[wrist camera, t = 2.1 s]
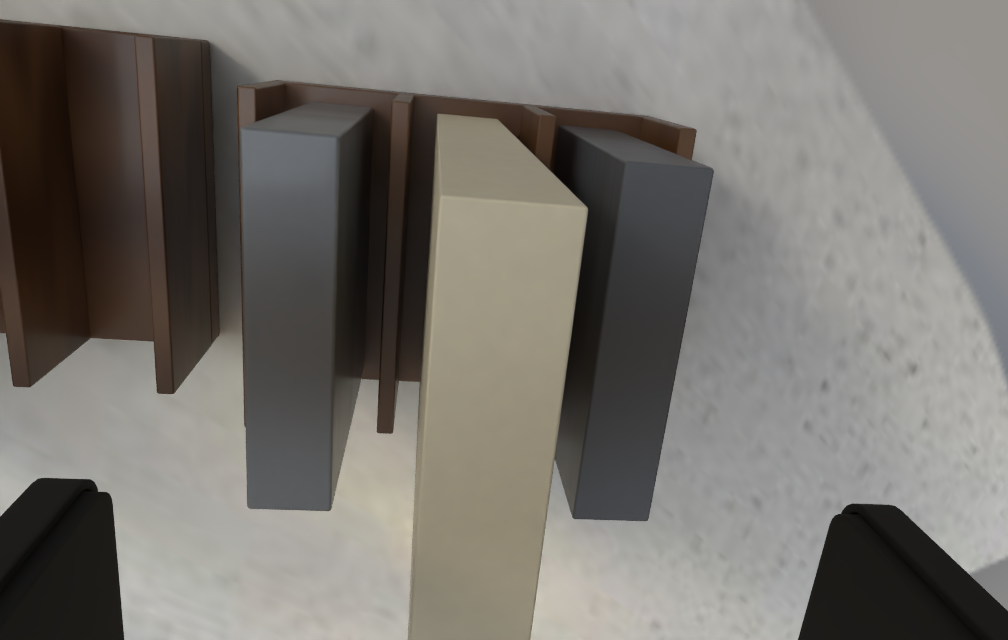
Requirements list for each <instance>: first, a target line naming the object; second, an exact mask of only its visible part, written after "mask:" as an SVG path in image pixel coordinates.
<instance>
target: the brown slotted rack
mask: <svg viewBox="0 0 1008 640" xmlns="http://www.w3.org/2000/svg"><path fill="white" fill-rule="evenodd" d="M237 104H238V150H239V196H240V243H241V289H242V336H243V382H244V425H245V427H246V467H247V506H248V508H250V509H278V510H310V511H330V510H331V508H332V504H333V499H334V495H335V491H336V486H337V482H338V478H339V473H340V469H341V465H342V460H343V456H344V452H345V447H346V443H347V439H348V434H349V430H350V425H351V421H352V417H353V412H354V408H355V404H356V399H357V395H358V391H359V386H360V382H361V379H374V380H379V394H378V417H377V433H388V434H391V433H393V428H394V419H395V410H396V401H397V392H398V383H399V381H413V382H420V368H421V352H422V336H423V321H424V305H425V290H426V274H427V258H428V243H429V227H430V212H431V196H432V181H433V165H434V149H435V134H436V118H437V114H448V115H459V116H470V117H480V118H491V119H498V120H499V121H500V122H501V123H502V124H503V125H504V126H505V127H506V128H507V129H508V130H509V131H510V132H511V133H512V134H513V135H514V136H515V137H516V138H517V139H518V140H519V141H520V142H521V143H522V144H523V145H524V146H525V147H526V148H527V149H528V150H529V151H530V152H531V153H533V154H534V155H535V156H536V157H537V158H538V159H539V160H540V161H541V162H542V163H543V164H544V165H545V166H546V167H547V168H548V169H549V170H550V171H551V172H552V173H553V174H554V175H555V176H556V177H557V178H558V179H559V180H560V181H561V182H562V183H563V184H564V185H565V186H566V187H567V188H568V189H569V190H570V191H571V192H572V193H573V194H574V195H575V196H576V197H577V198H578V199H579V200H580V201H581V202H582V203H583V204H584V205H585V206H586V207H587V208H588V215H587V222H586V230H585V237H584V245H583V252H582V259H581V267H580V274H579V282H578V289H577V296H576V304H575V311H574V319H573V326H572V333H571V341H570V348H569V356H568V363H567V371H566V378H565V385H564V393H563V400H562V408H561V415H560V422H559V430H558V437H557V445H556V452H555V460H556V464H557V467H558V470H559V474H560V477H561V480H562V484H563V487H564V490H565V494H566V497H567V500H568V504H569V507H570V511H571V514H572V517H573V518H574V519H594V520H627V521H648V518H649V513H650V508H651V502H652V497H653V492H654V486H655V481H656V476H657V470H658V465H659V460H660V454H661V449H662V444H663V438H664V433H665V428H666V423H667V417H668V412H669V407H670V401H671V396H672V391H673V385H674V380H675V375H676V369H677V364H678V359H679V353H680V348H681V343H682V338H683V332H684V327H685V322H686V316H687V311H688V306H689V300H690V295H691V290H692V284H693V279H694V274H695V268H696V263H697V258H698V253H699V247H700V242H701V237H702V231H703V226H704V221H705V215H706V210H707V205H708V199H709V194H710V189H711V183H712V178H713V173H714V170H713V169H712V168H710V167H707V166H705V165H702V164H700V163H697V162H695V161H692V154H693V149H694V143H695V137H696V132H697V131H696V129H693V128H690V127H686V126H682V125H679V124H675V123H672V122H668V121H664V120H661V119H657V118H653V117H650V116H643V115H633V114H622V113H612V112H601V111H591V110H581V109H570V108H560V107H549V106H539V105H529V104H518V103H508V102H498V101H487V100H477V99H466V98H456V97H446V96H435V95H425V94H415V93H404V92H394V91H383V90H373V89H363V88H352V87H342V86H332V85H321V84H311V83H300V82H290V81H280V80H276V81H269V82H262V83H255V84H248V85H241V86H238V87H237Z"/></svg>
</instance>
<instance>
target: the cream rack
mask: <svg viewBox="0 0 1008 640" xmlns="http://www.w3.org/2000/svg"><path fill="white" fill-rule="evenodd" d="M0 333H6V337H7V344H8V352H9V359H10V367H11V374H12V382H13V386H14V387H31V386H32V385H34V384H35V383H36V382H37V381H39V380H40V379H41V378H42V377H43V376H45V375H46V374H47V373H48V372H50V371H51V370H52V369H53V368H55V367H56V366H57V365H58V364H59V363H61V362H62V361H63V360H64V359H66V358H67V357H68V356H69V355H70V354H72V353H73V352H74V351H75V350H77V349H78V348H79V347H80V346H82V345H83V344H84V343H85V342H86V341H88V340H89V339H90V338H102V339H120V340H138V341H154V353H155V369H156V384H157V393H159V394H174V393H175V392H176V390H177V389H178V388H179V386H180V385H181V384H182V383H183V381H184V380H185V379H186V377H187V376H188V375H189V373H190V372H191V371H192V370H193V368H194V367H195V366H196V364H197V363H198V362H199V361H200V359H201V358H202V357H203V355H204V354H205V353H206V352H207V350H208V349H209V348H210V346H211V345H212V343H213V342H214V341H215V340H216V338H217V337H218V336H219V310H218V279H217V249H216V218H215V187H214V157H213V126H212V95H211V65H210V43H209V41H207V40H198V39H188V38H179V37H169V36H159V35H149V34H139V33H129V32H119V31H110V30H100V29H90V28H80V27H70V26H60V25H50V24H40V23H31V22H21V21H11V20H1V19H0Z"/></svg>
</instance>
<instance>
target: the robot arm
mask: <svg viewBox="0 0 1008 640" xmlns="http://www.w3.org/2000/svg"><path fill="white" fill-rule="evenodd" d="M0 640H124V632H123V620H122V609H121V597H120V585H119V573H118V562H117V550H116V538H115V526H114V515H113V504H112V498H111V496H110V494H109V493H107V492H98V489H97V486H96V484H95V482H93V481H92V480H90V479H59V478H40V479H37V480H36V481H35V482H33V483H32V484H31V485H30V486H29V487H28V488H27V489H26V490H25V491H24V492H23V494H22V495H21V496H20V497H19V498H18V499H17V500H16V501H15V502H14V503H13V504H12V505H11V506H10V507H9V508H8V509H7V510H6V511H5V512H4V513H3V514H2V516H1V517H0ZM798 640H1008V611H1007V610H1006V609H1005V608H1004V607H1003V606H1002V605H1001V604H1000V603H999V602H997V600H995V599H994V598H993V597H992V596H991V595H990V594H989V593H988V592H987V591H986V590H985V589H984V588H983V587H982V586H981V585H980V584H978V583H977V582H976V581H975V580H974V579H973V578H972V577H971V576H970V575H969V574H968V573H967V572H966V571H965V570H964V569H963V568H962V567H961V566H959V565H958V564H957V563H956V562H955V561H954V560H953V559H952V558H951V557H950V556H949V555H948V554H947V553H946V552H945V551H944V550H943V549H941V548H940V547H939V546H938V545H937V544H936V543H935V542H934V541H933V540H932V539H931V538H930V537H929V536H928V535H927V534H926V533H925V532H923V531H922V530H921V529H920V528H919V527H918V526H917V525H916V524H915V523H914V522H913V521H912V520H911V519H910V518H909V517H908V516H907V515H905V514H904V513H903V512H902V511H901V510H900V509H898V508H897V507H895V506H892V505H878V504H850V505H848V506H846V507H845V509H844V510H843V511H842V513H841V514H838V515H835V516H834V518H833V519H832V521H831V523H830V526H829V530H828V533H827V537H826V540H825V544H824V548H823V551H822V555H821V559H820V562H819V566H818V569H817V573H816V577H815V580H814V584H813V588H812V591H811V595H810V598H809V602H808V606H807V609H806V613H805V617H804V620H803V624H802V628H801V631H800V635H799V638H798Z"/></svg>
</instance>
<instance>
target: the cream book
mask: <svg viewBox="0 0 1008 640" xmlns="http://www.w3.org/2000/svg"><path fill="white" fill-rule="evenodd" d="M587 215H588V208H587V207H586V206H585V205H584V204H583V203H582V202H581V201H580V200H579V199H578V198H577V197H576V196H575V195H574V194H573V193H572V192H571V191H570V190H569V189H568V188H567V187H566V186H565V185H564V184H563V183H562V182H561V181H560V180H559V179H558V178H557V177H556V176H555V175H554V174H553V173H552V172H551V171H550V170H549V169H548V168H547V167H546V166H545V165H544V164H543V163H542V162H541V161H540V160H539V159H538V158H537V157H536V156H535V155H534V154H533V153H531V152H530V151H529V150H528V149H527V148H526V147H525V146H524V145H523V144H522V143H521V142H520V141H519V140H518V139H517V138H516V137H515V136H514V135H513V134H512V133H511V132H510V131H509V130H508V129H507V128H506V127H505V126H504V125H503V124H502V123H501V122H500V121H499V120H498V119H491V118H480V117H470V116H459V115H448V114H437V118H436V134H435V149H434V165H433V181H432V196H431V212H430V227H429V243H428V258H427V274H426V290H425V305H424V321H423V336H422V352H421V368H420V388H419V410H418V431H417V452H416V474H415V495H414V517H413V538H412V559H411V581H410V602H409V623H408V640H530V637H531V630H532V622H533V615H534V607H535V600H536V593H537V585H538V578H539V570H540V563H541V556H542V548H543V541H544V533H545V526H546V519H547V511H548V504H549V496H550V489H551V482H552V474H553V467H554V459H555V452H556V445H557V437H558V430H559V422H560V415H561V408H562V400H563V393H564V385H565V378H566V371H567V363H568V356H569V348H570V341H571V333H572V326H573V319H574V311H575V304H576V296H577V289H578V282H579V274H580V267H581V259H582V252H583V245H584V237H585V230H586V222H587Z"/></svg>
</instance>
